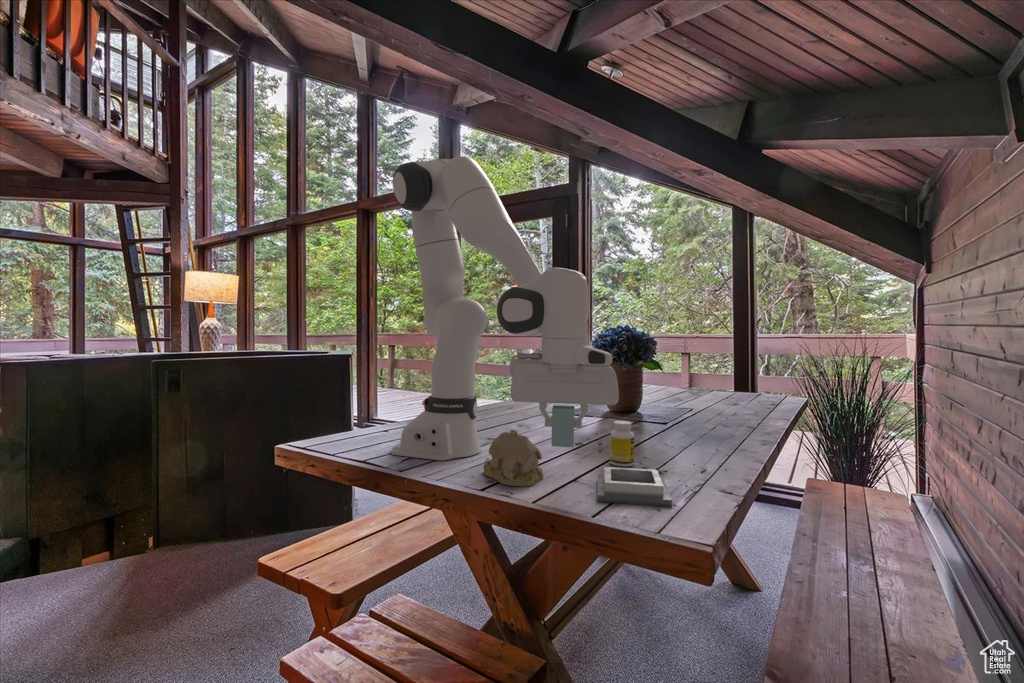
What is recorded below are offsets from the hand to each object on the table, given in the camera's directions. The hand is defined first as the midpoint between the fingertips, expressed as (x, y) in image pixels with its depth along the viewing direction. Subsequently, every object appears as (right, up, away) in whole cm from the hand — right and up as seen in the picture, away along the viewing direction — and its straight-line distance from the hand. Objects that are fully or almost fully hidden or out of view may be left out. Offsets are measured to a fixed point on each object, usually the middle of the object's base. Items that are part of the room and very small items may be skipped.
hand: (563, 427), depth 91 cm
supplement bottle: (+16, -13, +21) cm, 30 cm away
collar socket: (+13, -13, +2) cm, 19 cm away
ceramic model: (-10, -13, +11) cm, 20 cm away
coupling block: (0, -3, 0) cm, 3 cm away
